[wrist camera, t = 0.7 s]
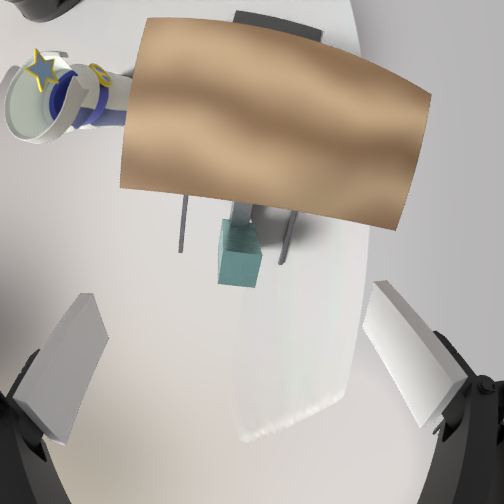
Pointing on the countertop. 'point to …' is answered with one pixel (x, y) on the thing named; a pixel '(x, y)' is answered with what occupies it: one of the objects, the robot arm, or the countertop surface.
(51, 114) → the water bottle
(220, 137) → the bridge
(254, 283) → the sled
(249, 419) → the countertop surface
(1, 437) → the robot arm
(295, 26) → the dark grey flat block
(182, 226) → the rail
